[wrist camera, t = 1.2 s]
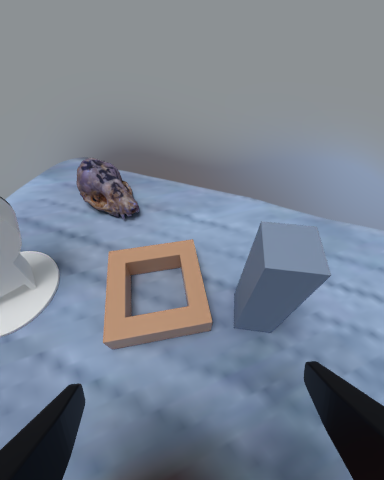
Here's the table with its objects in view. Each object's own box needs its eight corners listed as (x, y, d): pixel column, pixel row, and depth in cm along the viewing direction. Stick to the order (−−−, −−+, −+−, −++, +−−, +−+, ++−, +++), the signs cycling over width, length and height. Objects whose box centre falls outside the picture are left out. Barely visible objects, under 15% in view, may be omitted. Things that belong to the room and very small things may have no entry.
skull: (151, 212, 35) (145, 181, 30) (108, 235, 32) (93, 205, 27) (117, 177, 41) (107, 146, 36) (77, 194, 38) (60, 163, 33)
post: (270, 332, 24) (331, 275, 13) (233, 327, 24) (264, 267, 14) (267, 298, 26) (317, 226, 16) (234, 294, 26) (261, 221, 16)
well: (210, 330, 24) (212, 322, 21) (112, 349, 23) (103, 342, 20) (193, 252, 30) (193, 239, 28) (115, 264, 29) (108, 251, 27)
